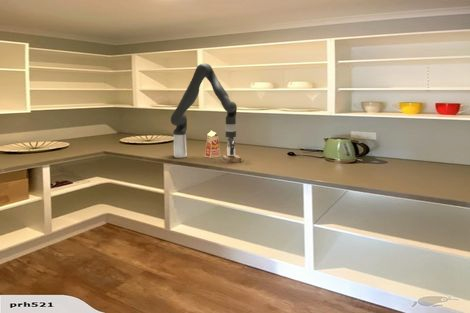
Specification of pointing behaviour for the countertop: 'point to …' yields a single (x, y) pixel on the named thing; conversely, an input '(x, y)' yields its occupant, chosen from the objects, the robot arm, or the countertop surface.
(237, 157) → the base
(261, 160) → the countertop surface
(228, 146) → the cube
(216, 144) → the milk carton
